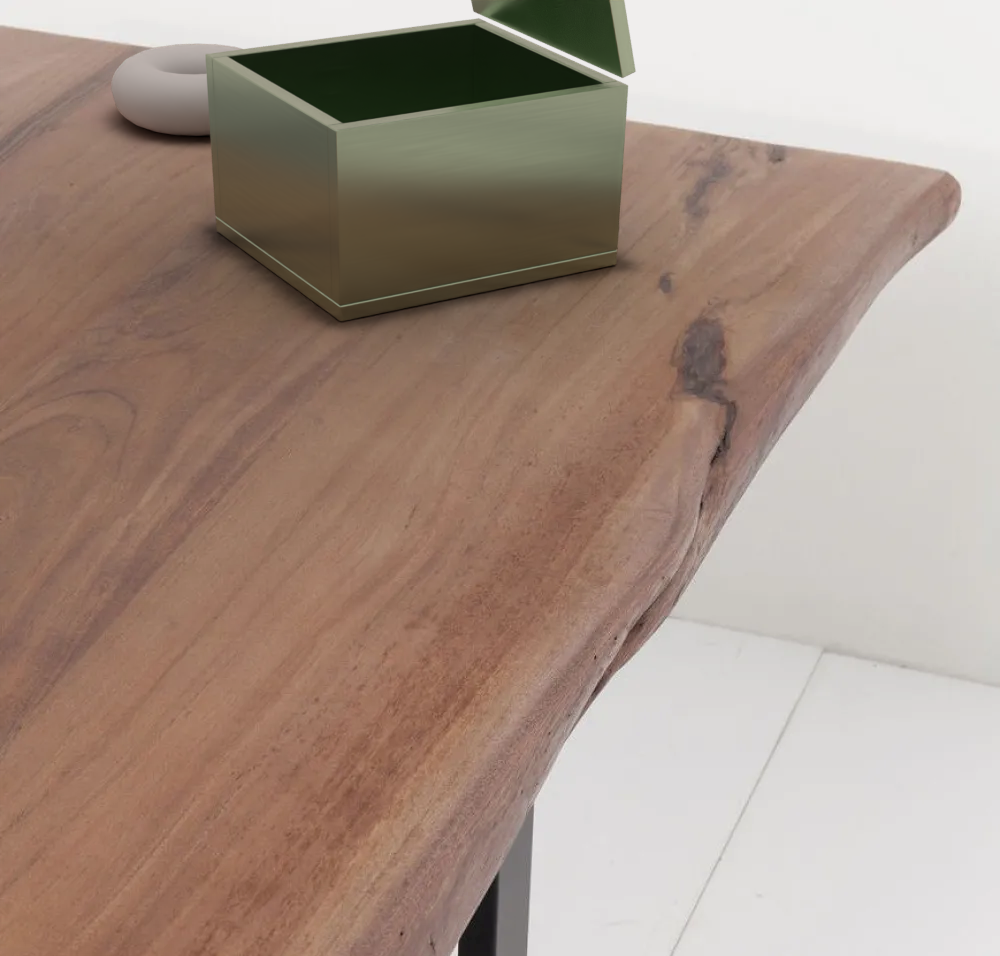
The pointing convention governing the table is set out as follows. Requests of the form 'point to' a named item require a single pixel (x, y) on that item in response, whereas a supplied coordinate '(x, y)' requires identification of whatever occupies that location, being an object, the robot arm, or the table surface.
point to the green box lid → (571, 28)
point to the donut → (166, 88)
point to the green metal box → (415, 163)
